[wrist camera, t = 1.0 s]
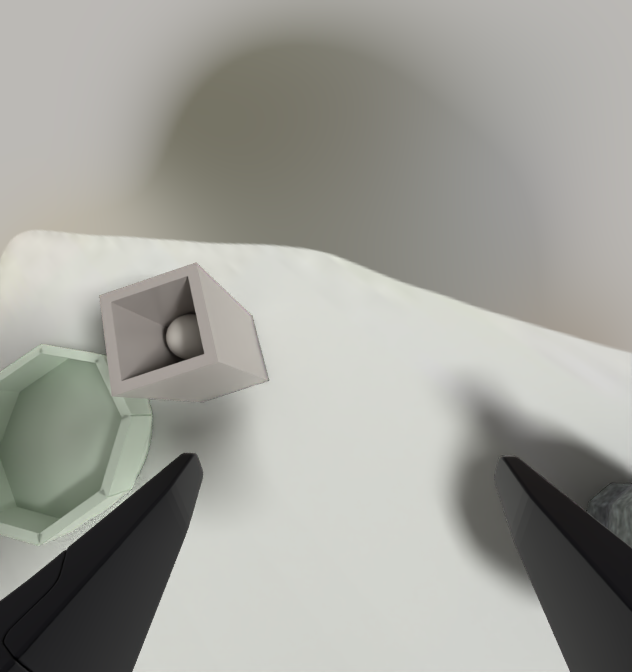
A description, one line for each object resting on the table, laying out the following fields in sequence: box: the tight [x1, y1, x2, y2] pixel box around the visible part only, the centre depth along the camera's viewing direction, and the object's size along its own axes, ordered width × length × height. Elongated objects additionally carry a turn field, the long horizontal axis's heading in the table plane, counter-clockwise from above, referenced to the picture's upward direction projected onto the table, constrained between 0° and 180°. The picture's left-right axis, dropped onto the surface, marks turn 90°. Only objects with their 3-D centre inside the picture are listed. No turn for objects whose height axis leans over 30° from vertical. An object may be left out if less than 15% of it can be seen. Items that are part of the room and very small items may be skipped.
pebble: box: [166, 314, 204, 360], centre depth 21 cm, size 3×3×3 cm
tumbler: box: [99, 263, 269, 402], centre depth 21 cm, size 6×6×10 cm
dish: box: [0, 344, 153, 546], centre depth 24 cm, size 13×13×3 cm
